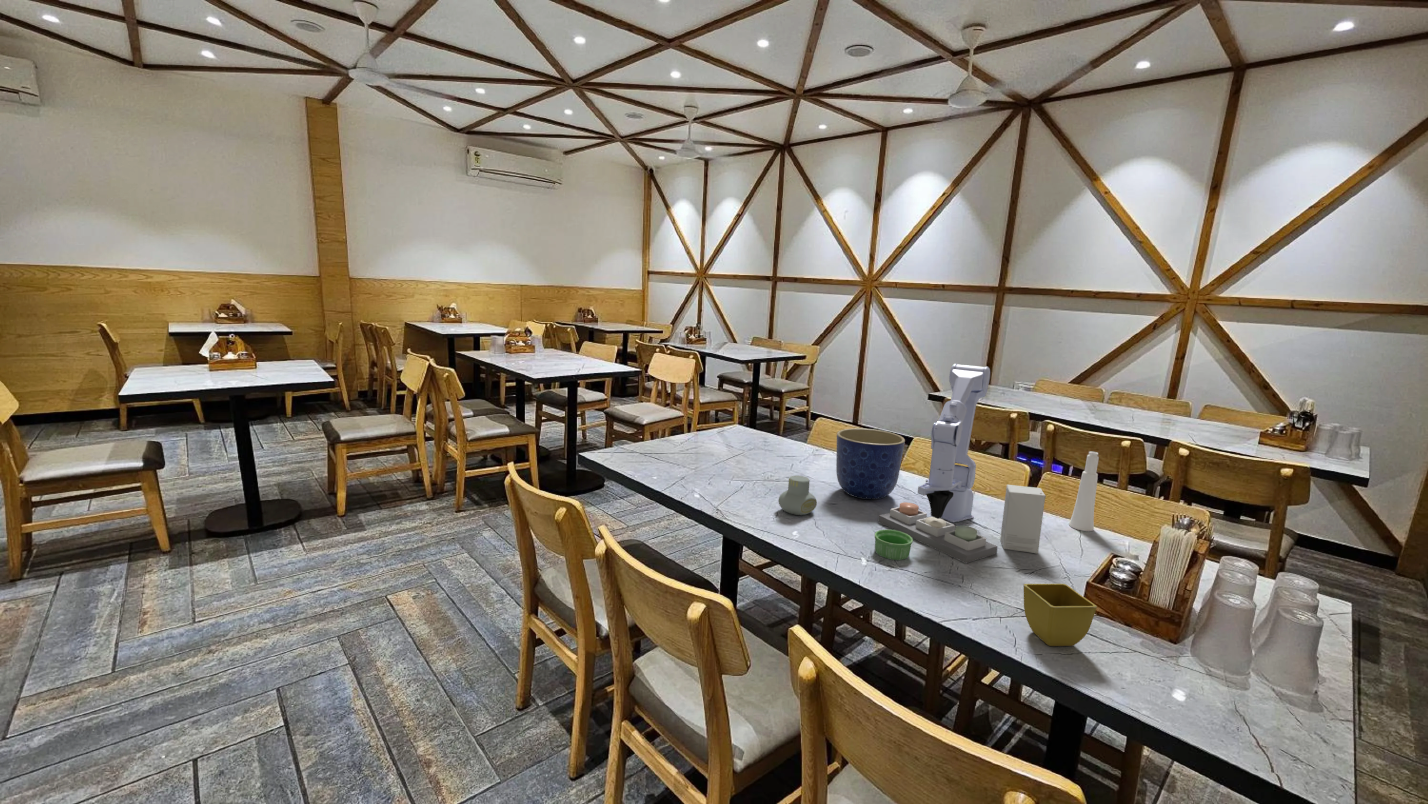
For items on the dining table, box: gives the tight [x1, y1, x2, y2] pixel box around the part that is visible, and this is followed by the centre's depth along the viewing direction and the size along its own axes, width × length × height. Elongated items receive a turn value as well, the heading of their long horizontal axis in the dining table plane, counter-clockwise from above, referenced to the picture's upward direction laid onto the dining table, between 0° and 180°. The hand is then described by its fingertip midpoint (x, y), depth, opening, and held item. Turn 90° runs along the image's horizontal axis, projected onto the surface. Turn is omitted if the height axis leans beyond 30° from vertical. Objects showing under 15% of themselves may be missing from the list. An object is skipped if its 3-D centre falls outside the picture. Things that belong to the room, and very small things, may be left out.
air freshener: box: [777, 475, 818, 516], centre depth 168 cm, size 11×8×10 cm
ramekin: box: [874, 529, 914, 561], centre depth 143 cm, size 9×9×4 cm
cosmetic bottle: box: [1068, 451, 1100, 532], centre depth 164 cm, size 6×6×22 cm
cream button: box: [925, 516, 947, 528], centre depth 154 cm, size 5×5×2 cm
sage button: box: [955, 524, 978, 542], centre depth 146 cm, size 5×5×2 cm
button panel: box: [877, 506, 998, 564], centre depth 154 cm, size 12×28×4 cm, turn 31°
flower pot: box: [1023, 583, 1098, 647], centre depth 109 cm, size 9×9×9 cm
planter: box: [835, 427, 906, 500], centre depth 184 cm, size 21×21×19 cm
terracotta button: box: [898, 501, 920, 516], centre depth 161 cm, size 5×5×2 cm
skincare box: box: [999, 484, 1047, 554], centre depth 149 cm, size 8×7×16 cm
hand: (936, 517), depth 153 cm, fingers closed
